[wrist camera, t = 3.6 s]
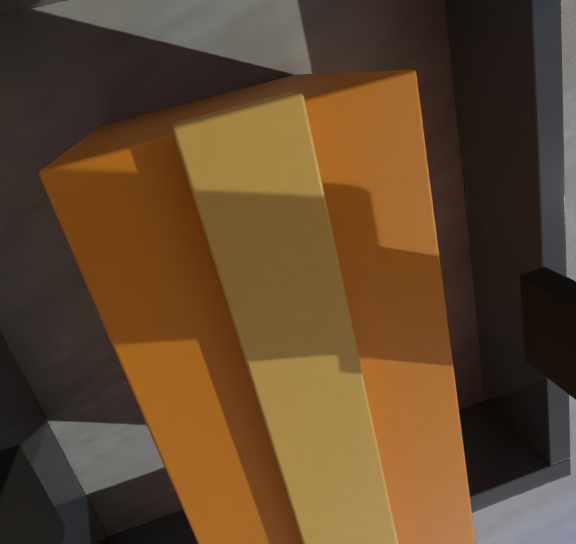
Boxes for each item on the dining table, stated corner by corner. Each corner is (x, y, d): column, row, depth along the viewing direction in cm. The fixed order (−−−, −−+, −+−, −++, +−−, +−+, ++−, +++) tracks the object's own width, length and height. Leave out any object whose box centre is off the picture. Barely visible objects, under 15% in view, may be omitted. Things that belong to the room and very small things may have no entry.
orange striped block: (96, 120, 18) (20, 167, 8) (295, 68, 19) (436, 56, 9) (212, 432, 24) (247, 679, 14) (362, 380, 25) (493, 578, 15)
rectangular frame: (-200, 23, 16) (-350, -1, 11) (459, -124, 18) (558, -192, 14) (96, 558, 25) (81, 666, 20) (503, 409, 28) (571, 475, 23)
